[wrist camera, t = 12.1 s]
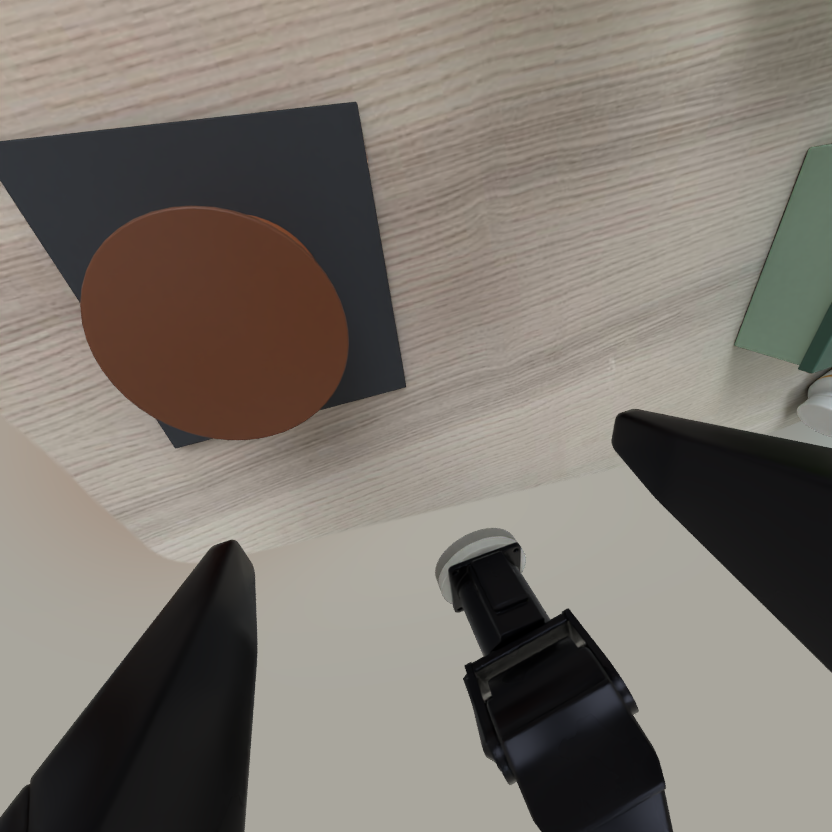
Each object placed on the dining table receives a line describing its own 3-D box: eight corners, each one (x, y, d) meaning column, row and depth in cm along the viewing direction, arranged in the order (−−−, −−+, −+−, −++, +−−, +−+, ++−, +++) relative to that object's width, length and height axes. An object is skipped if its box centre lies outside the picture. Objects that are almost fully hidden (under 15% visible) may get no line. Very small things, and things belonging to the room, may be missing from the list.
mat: (404, 383, 20) (406, 387, 19) (177, 443, 17) (174, 449, 17) (355, 104, 13) (357, 101, 13) (-13, 146, 11) (-26, 143, 11)
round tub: (347, 353, 17) (369, 410, 12) (206, 387, 16) (166, 465, 11) (306, 195, 14) (312, 185, 9) (120, 224, 12) (4, 232, 7)
